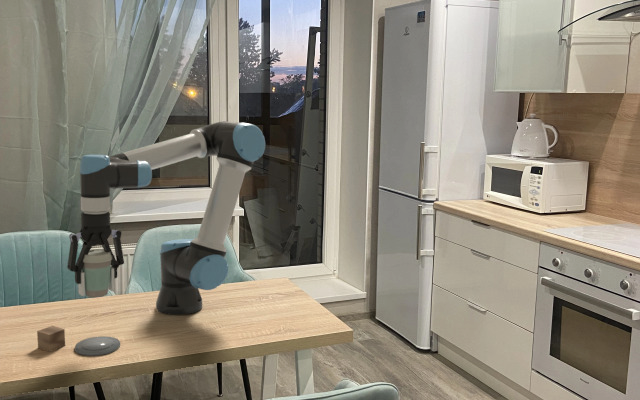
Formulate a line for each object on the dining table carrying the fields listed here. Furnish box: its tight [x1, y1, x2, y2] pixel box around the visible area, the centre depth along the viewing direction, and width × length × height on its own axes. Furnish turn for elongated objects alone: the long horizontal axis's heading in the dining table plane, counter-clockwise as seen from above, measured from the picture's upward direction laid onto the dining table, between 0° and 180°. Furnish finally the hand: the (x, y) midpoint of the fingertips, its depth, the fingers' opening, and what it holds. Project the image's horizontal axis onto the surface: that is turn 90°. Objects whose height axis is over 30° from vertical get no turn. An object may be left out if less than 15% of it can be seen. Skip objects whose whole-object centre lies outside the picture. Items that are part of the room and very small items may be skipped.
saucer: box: [74, 335, 121, 357], centre depth 178 cm, size 12×12×1 cm
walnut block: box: [36, 325, 66, 353], centre depth 177 cm, size 5×5×5 cm
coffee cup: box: [82, 248, 112, 298], centre depth 176 cm, size 8×8×12 cm
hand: (96, 292), depth 177 cm, fingers closed on coffee cup, 8 cm apart
